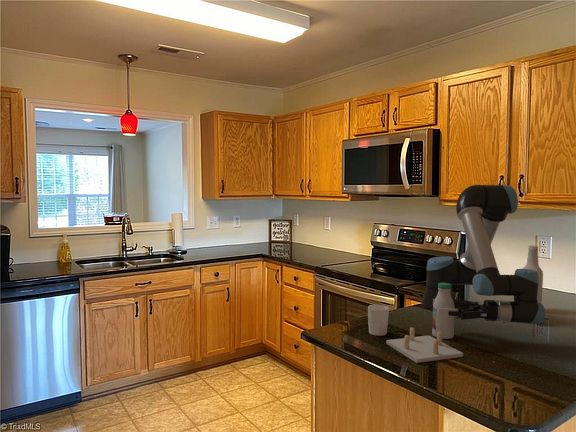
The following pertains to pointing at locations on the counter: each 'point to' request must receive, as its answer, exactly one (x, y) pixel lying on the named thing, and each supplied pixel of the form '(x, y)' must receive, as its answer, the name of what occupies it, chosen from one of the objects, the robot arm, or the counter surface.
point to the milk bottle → (443, 322)
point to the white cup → (378, 319)
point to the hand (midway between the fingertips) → (435, 306)
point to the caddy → (424, 347)
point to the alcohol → (535, 268)
